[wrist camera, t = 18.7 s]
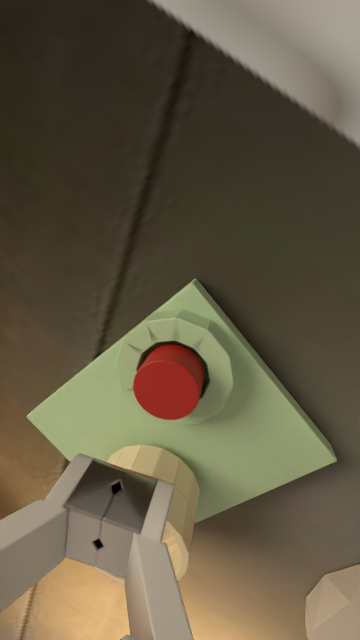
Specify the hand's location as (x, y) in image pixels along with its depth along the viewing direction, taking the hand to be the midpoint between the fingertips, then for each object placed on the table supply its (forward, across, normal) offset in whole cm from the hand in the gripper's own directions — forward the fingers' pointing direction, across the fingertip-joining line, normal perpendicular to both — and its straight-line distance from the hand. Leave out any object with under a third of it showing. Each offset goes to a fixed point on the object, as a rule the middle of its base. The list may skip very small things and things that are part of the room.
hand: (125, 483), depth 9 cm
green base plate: (+10, 0, +6) cm, 11 cm away
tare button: (+7, 0, 0) cm, 7 cm away
